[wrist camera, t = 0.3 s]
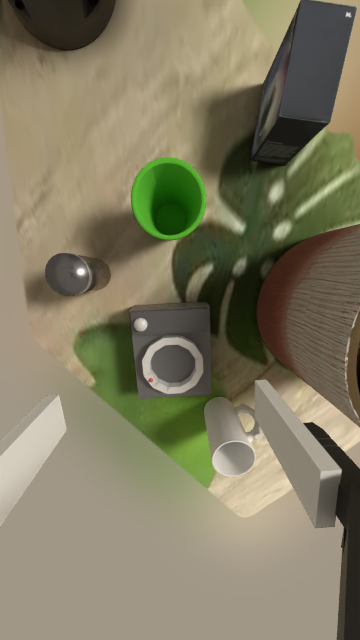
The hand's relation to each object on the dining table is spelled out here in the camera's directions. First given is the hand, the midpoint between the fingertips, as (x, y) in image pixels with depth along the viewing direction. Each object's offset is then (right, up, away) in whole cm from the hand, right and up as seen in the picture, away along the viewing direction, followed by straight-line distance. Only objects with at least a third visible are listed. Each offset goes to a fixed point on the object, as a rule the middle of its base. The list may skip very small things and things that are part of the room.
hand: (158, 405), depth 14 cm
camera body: (0, +1, +27) cm, 27 cm away
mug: (+11, -12, +30) cm, 34 cm away
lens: (-14, +14, +23) cm, 30 cm away
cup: (0, +22, +22) cm, 31 cm away
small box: (+16, +36, +19) cm, 44 cm away
